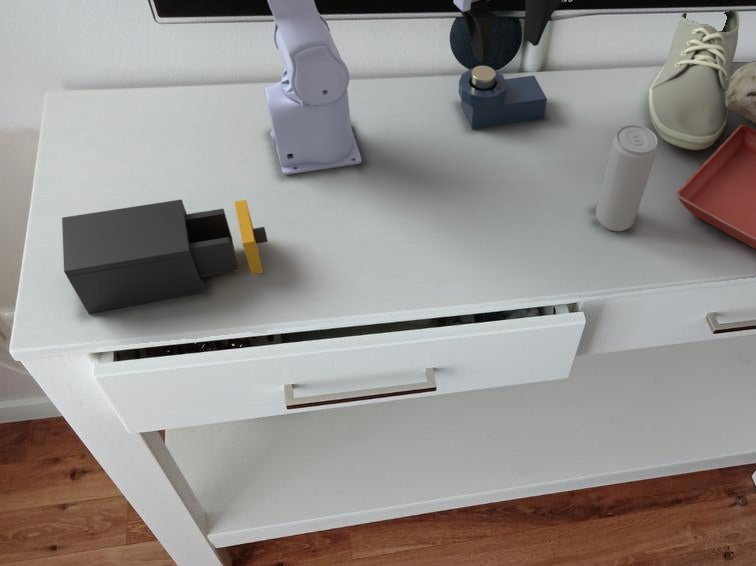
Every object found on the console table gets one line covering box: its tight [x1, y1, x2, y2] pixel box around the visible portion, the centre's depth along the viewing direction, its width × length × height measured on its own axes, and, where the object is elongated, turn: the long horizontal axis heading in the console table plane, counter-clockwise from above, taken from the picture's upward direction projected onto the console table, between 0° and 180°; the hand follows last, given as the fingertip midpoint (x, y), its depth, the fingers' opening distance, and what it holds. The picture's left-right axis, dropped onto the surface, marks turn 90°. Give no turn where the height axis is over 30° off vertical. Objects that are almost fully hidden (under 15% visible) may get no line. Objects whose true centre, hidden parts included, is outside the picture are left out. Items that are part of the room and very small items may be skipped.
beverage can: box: [595, 124, 659, 232], centre depth 88 cm, size 5×5×12 cm
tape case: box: [61, 199, 206, 315], centre depth 79 cm, size 11×7×6 cm, turn 109°
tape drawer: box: [185, 199, 269, 278], centre depth 81 cm, size 12×6×5 cm, turn 109°
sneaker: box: [647, 10, 740, 151], centre depth 105 cm, size 11×29×8 cm, turn 165°
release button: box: [471, 65, 496, 91], centre depth 97 cm, size 3×3×2 cm
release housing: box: [458, 68, 548, 130], centre depth 100 cm, size 11×6×5 cm, turn 109°
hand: (506, 49), depth 94 cm, fingers open, 7 cm apart
